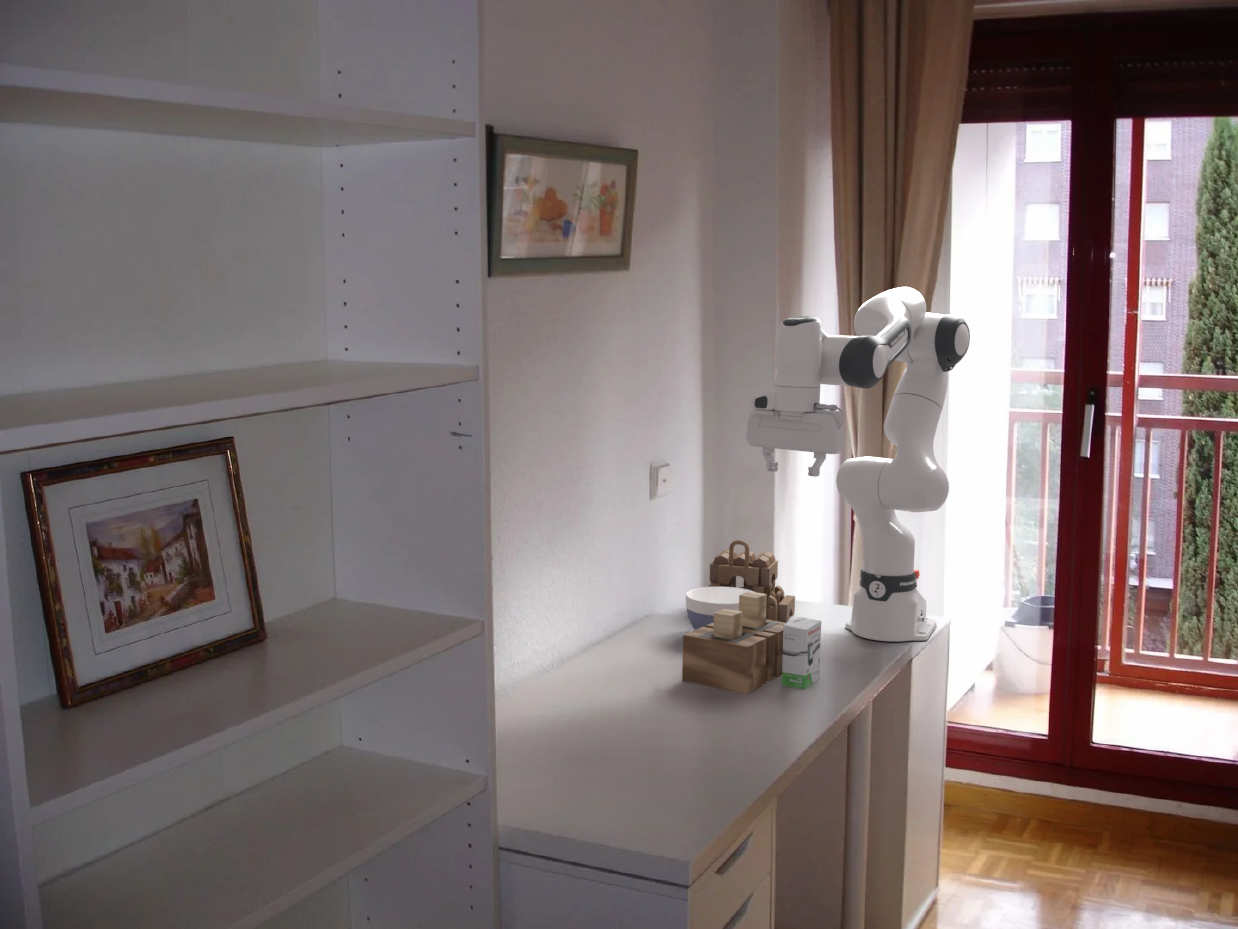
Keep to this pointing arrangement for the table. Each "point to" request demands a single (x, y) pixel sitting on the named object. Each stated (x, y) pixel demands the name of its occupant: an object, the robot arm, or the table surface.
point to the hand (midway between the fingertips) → (792, 473)
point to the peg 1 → (728, 624)
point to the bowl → (711, 603)
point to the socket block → (733, 657)
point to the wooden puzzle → (753, 578)
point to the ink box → (801, 652)
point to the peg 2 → (753, 609)
